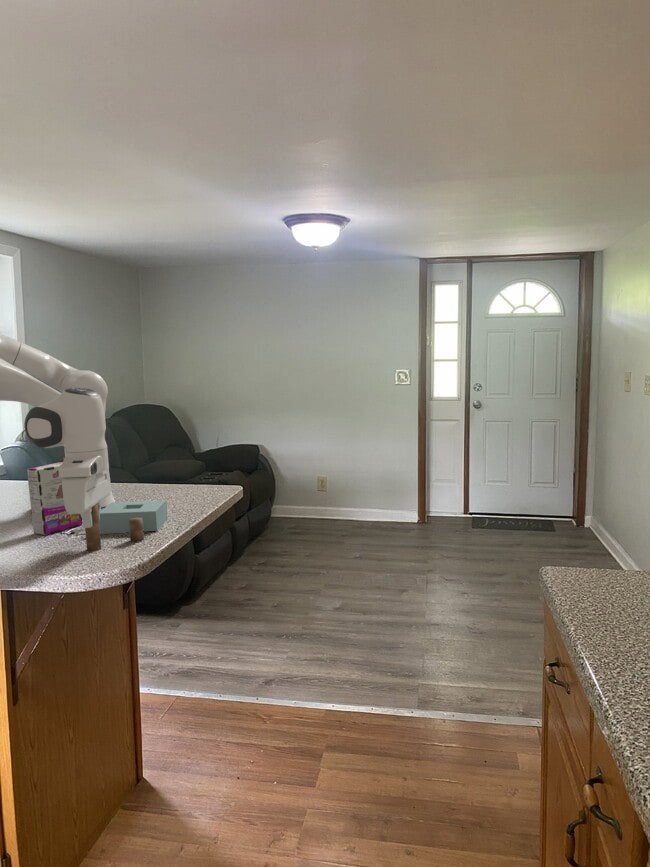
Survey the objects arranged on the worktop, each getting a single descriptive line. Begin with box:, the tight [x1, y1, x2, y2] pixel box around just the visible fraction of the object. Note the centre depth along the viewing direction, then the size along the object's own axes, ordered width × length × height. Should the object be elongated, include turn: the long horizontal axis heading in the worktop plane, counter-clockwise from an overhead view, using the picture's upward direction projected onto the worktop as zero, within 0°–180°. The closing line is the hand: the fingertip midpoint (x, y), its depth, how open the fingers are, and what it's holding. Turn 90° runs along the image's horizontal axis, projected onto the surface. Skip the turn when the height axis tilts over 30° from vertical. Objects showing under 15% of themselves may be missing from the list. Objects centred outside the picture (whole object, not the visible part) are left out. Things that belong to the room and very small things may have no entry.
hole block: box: [99, 499, 169, 535], centre depth 164 cm, size 14×12×5 cm
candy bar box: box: [26, 462, 83, 536], centre depth 163 cm, size 11×5×16 cm, turn 148°
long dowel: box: [84, 503, 102, 552], centre depth 144 cm, size 3×3×12 cm
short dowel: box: [129, 517, 145, 543], centre depth 151 cm, size 3×3×5 cm
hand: (92, 524), depth 145 cm, fingers closed on long dowel, 3 cm apart
